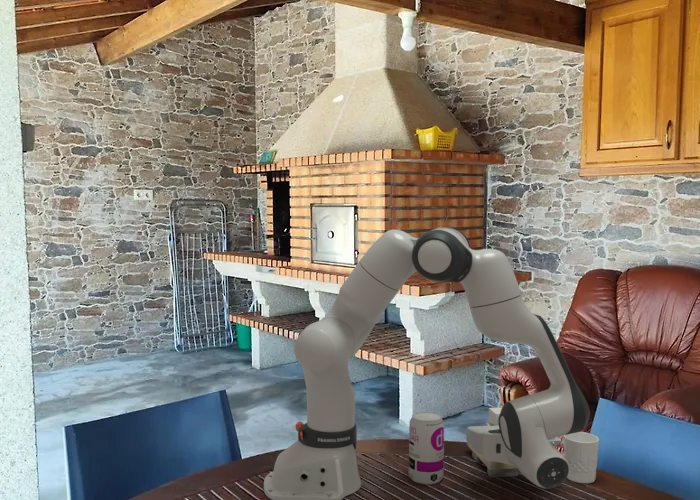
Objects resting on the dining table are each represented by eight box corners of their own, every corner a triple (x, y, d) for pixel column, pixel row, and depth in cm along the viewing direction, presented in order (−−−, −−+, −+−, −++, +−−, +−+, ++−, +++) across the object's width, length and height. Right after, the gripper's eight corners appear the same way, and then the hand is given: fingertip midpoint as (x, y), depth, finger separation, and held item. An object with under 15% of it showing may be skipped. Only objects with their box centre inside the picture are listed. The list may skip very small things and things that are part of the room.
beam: (489, 477, 149) (489, 454, 149) (466, 451, 166) (466, 430, 166) (519, 476, 150) (520, 453, 150) (494, 450, 167) (494, 429, 167)
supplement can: (450, 478, 149) (451, 416, 148) (429, 488, 143) (430, 424, 142) (422, 468, 155) (423, 409, 154) (401, 478, 149) (402, 416, 148)
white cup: (600, 486, 145) (601, 443, 145) (565, 483, 147) (566, 441, 146) (594, 472, 153) (595, 432, 152) (560, 470, 154) (561, 430, 154)
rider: (495, 455, 150) (496, 414, 150) (488, 447, 155) (488, 407, 155) (511, 454, 151) (512, 413, 150) (503, 447, 156) (504, 407, 155)
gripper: (565, 430, 141) (539, 411, 155) (478, 433, 138) (459, 414, 152) (564, 457, 141) (538, 436, 155) (478, 461, 139) (458, 439, 152)
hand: (498, 425), depth 154 cm, fingers closed on rider, 4 cm apart
